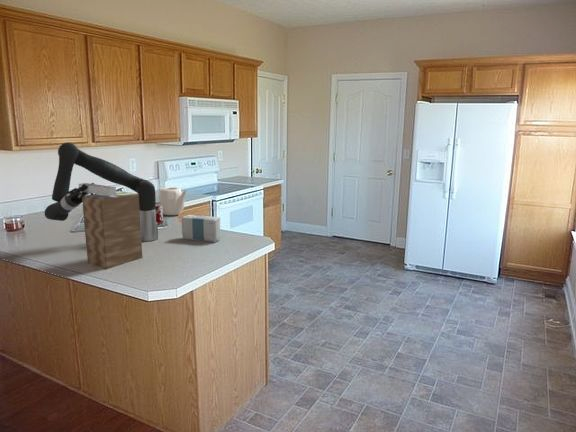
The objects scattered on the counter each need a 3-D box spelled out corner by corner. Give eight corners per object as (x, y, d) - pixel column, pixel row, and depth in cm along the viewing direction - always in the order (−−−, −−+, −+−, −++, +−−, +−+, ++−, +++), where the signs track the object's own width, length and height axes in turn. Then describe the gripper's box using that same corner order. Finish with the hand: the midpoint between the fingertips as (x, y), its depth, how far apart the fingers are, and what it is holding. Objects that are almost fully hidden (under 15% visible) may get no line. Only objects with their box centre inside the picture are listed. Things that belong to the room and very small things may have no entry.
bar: (79, 191, 207) (78, 183, 206) (85, 190, 210) (85, 183, 209) (109, 195, 196) (109, 188, 195) (116, 194, 199) (115, 187, 198)
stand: (87, 263, 207) (81, 196, 200) (123, 253, 224) (119, 190, 217) (107, 268, 200) (101, 199, 193) (142, 257, 217) (138, 193, 210)
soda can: (152, 224, 285) (151, 206, 282) (152, 222, 291) (151, 204, 288) (163, 224, 286) (162, 205, 284) (163, 221, 293) (162, 204, 290)
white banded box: (181, 239, 250) (180, 205, 246) (189, 236, 258) (187, 202, 253) (215, 243, 244) (214, 207, 240) (221, 239, 252) (221, 205, 247)
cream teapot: (179, 218, 303) (178, 191, 299) (152, 214, 316) (150, 187, 312) (195, 214, 316) (194, 188, 312) (168, 210, 329) (167, 185, 325)
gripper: (88, 204, 220) (106, 190, 210) (61, 209, 208) (79, 194, 199) (82, 191, 220) (100, 176, 211) (55, 195, 209) (72, 179, 199)
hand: (89, 185), depth 205 cm, fingers closed on bar, 3 cm apart
